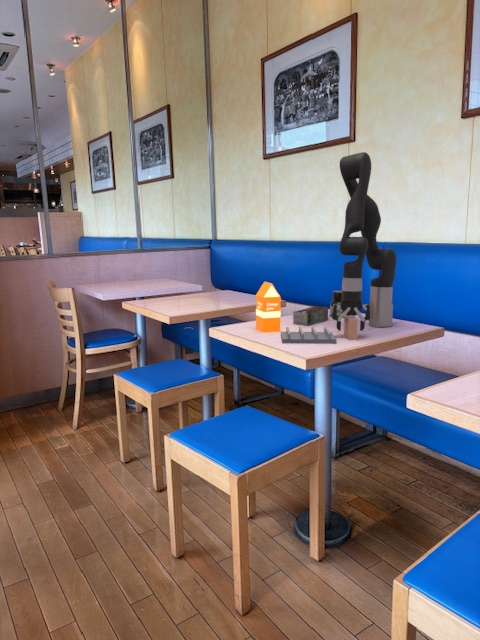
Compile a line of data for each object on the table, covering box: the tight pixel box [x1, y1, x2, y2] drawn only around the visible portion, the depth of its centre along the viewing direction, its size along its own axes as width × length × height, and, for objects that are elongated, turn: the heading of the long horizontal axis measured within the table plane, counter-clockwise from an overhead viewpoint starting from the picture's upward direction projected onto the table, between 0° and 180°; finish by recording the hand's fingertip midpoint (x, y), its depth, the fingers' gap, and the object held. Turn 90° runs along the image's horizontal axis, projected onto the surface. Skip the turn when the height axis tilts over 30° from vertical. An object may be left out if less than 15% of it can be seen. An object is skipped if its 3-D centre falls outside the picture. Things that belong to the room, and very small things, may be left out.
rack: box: [280, 326, 338, 344], centre depth 185 cm, size 20×13×4 cm, turn 88°
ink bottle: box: [329, 290, 345, 318], centre depth 231 cm, size 10×9×12 cm
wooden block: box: [343, 315, 358, 341], centre depth 188 cm, size 3×10×8 cm, turn 178°
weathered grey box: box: [292, 305, 329, 327], centre depth 218 cm, size 8×19×7 cm, turn 141°
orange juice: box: [255, 281, 282, 334], centre depth 200 cm, size 8×9×20 cm
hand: (350, 330), depth 188 cm, fingers open, 8 cm apart
